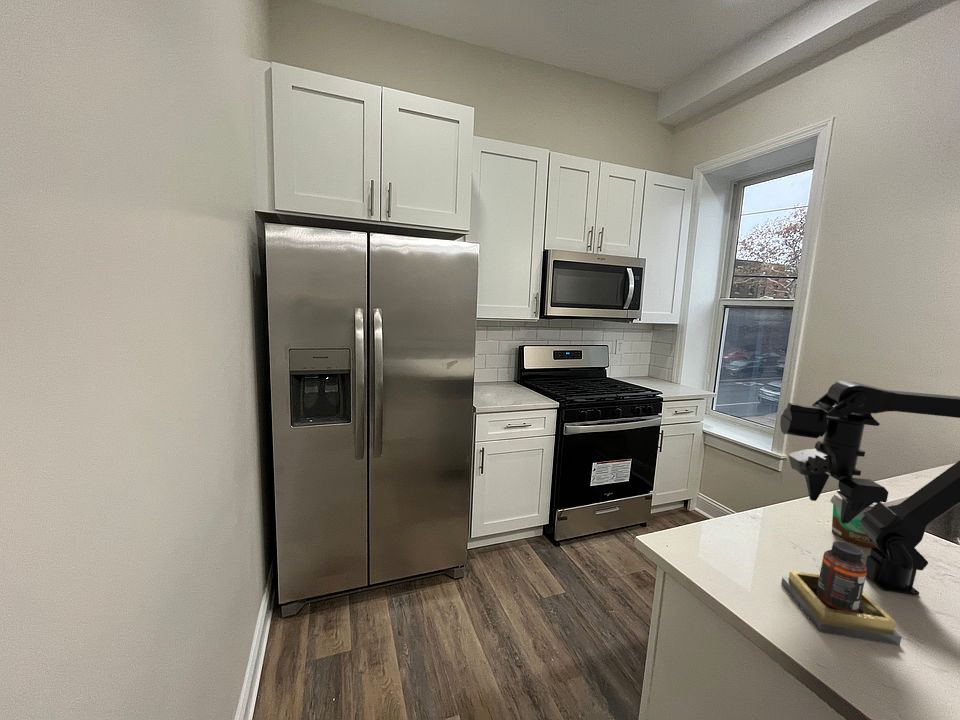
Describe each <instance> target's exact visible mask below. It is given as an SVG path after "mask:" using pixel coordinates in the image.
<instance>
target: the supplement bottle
mask: <svg viewBox="0 0 960 720" xmlns="http://www.w3.org/2000/svg"><path fill="white" fill-rule="evenodd" d="M865 564H866V563H865V562H864V561H863V551H862V550H861V549H860V548H859V547H857V545H854V544H852V543H849V542H847V541H841V540H835V541H833V543H832V545H831V549H828V550H826V551H824V553H823V556H822V561H821V567H820V570H819V571H820V572H819V575H820V576H819V582H818V587H817V595H818V597H819V598H820V599H821V601H823V602H824V603H825V604H827V605H828V606H830V607H831V608H833V609H836V610H840V611H847V612H853V613H856V612H858V610H859V607H860V602H861V597H862V592H864V586H865V581H866V579H867V578H866V577H867V576H866V573H867V567H866V565H865Z"/></svg>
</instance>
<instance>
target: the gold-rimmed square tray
mask: <svg viewBox="0 0 960 720" xmlns="http://www.w3.org/2000/svg"><path fill="white" fill-rule="evenodd" d="M819 576H820V574H815V573H807V572H801V571H795V570H794V571H793V570H789V574H788V577H787V576H785V577H784V576H782V578H781V583H780V584H781V586H784V587H783V588H784V590H785V591H786V592H787V593H788V594H789V596H790V597H791V598H792V599H793V601H795V603H796V604H797V606H799V608H800V610H801V611H802V612H803V613H804V614H805V615H806V617H807V618H808V619H809V620H810V622H811V623H812V624H813V625H814V626H815V628H816V629H817V630H818V631H819V632H820V633H826V634H832V635H837V636H844V637H848V638H856V639H863V640H868V641H874V642H879V643H885V644H893V645H896V646H901V641H902V638H903V637H902V636H901V635H900V633H899V632H898V631H896V630H895V628H896V624H897V622H896V621H895V620H894V619H893V618H892V617H891V616H890V615H889V614H887V612H886V611H884V610H883V609H882V608H881V607H880V606H879V605H878V604H877V603H876V602H875V600H873V599H872V598H871V597H869V595H868V594H866V593H865V592H864V591H863V592H862V597H861V602H860V607H859V610H858V612H856V613H853V612H847V611H840V610H836V609H833V608H831V607H830V606H828V605H827V604H825V603H824V602H823V601H821V599H820V598H819V597H818V595H817V587H818V582H819Z"/></svg>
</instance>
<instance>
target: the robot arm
mask: <svg viewBox="0 0 960 720" xmlns="http://www.w3.org/2000/svg"><path fill="white" fill-rule="evenodd" d="M887 412H897V413H909V414H918V415H919V414H920V415H928V416H929V415H930V416H936V417H937V416H939V417H946V418H955V419H956V418H957V419H960V396H958V395H946V394H936V393H934V394H933V393H925V392H924V393H922V392H912V391H901V390H891V389H890V390H889V389H884V388H881V387H877V386H874V385H873V386H871V385H868V384H864V383H860V382H855V381H851V380H838V381H836V382H835V383H834V384H832V385H831V386H829V388H828V391H827V392H826V393H825V394H823V396H821V397H820V398H819V399H817V400H816V401H815V402H814V403H812V405H804V404H798V403H795V402H794V403H793V402H788V403H787V406H786V408H785V409H784V410H783V413H782V414H781V416H780V421H779V422H780V424H779V425H780V426H779V427H780V431H781V433H782V434H784V435H788V436H794V437H795V436H796V437H802V438H803V437H804V438H810V439H811V438H812V439H819V438H820V437H823V440H821V441H820V440H817V441H816V442H815V445H814V448H811V449H810V448H807V449H798V450H795V451H792V452H789V453H788V458H789V459H788V460H789V463H790V468H791V469H792V470H796V471H797V472H798V473H799V474H800V475H802V476H804V478H805V483H806V487H807V491H808V497H809V500H810V501H811V502H813V501H814V502H816V501H817V500H818V499H819V497H820V496H821V493H822V491H823V490H824V488H825V485H826V484H827V481H828V480H829V478H830V477H832V478H833V479H835V480H836V481H838V484H837V486H838V489H839V490H836V493H837V494H838V496H840V498H841V499H842V507H841V522H842V523H846V524H847V523H849V522H850V521H851V520H852V519H854V518H855V517H856V516H857V515H858V514H859V513H860V512H862V511H863V510H864V509H866V508H867V507H868V506H870V505H871V504H874V505H875V506H874V507H873V508H872V509H871V510H869V511H867V512H863V514H864V515H865V516H864V517H863V518H862V519H861V521H860V523H861V528H862V531H863V532H864V533H865V534H866V535H867V536H868V539H869V541H870V542H871V543H872V544H873V545H874V546H875V548H870V552H869V555H867V557H866V561H865V563H864V564H865V565H866V567H867V573H866V577H868V578H869V579H870V580H871V581H872V582H873V583H874V584H875V585H876V586H877V587H878V588H881V590H883V591H889V592H895V593H902V594H909V595H915V596H916V595H917V596H919V595H920V591H918V589H916V588H914V582H915V579H916V574H917V571H924V569H925V568H926V567H927V566H928V565H929V561H928V560H927V559H926V558H925V557H924V556H923V555H922V554H921V553H920V551H918V550H917V549H916V547H917V546H919V544H920V543H921V542H922V540H923V538H924V535H925V532H926V529H927V527H928V525H930V524H931V523H933V522H934V521H935V520H937V519H939V518H940V517H942V515H944V514H946V513H948V512H949V511H950V510H952V509H954V508H955V506H957V505H959V504H960V460H958V461H957V462H956V463H954V464H953V465H951V466H950V467H948V468H947V469H946V470H945V471H942V473H940V474H939V475H938V476H936V477H935V478H933V479H932V480H931V481H929V482H928V483H926V484H925V485H923V486H922V487H921V488H919V489H918V490H917V491H916V492H914V493H913V494H911V495H910V496H909V497H907V498H906V499H905V500H903V501H901V502H900V503H899V504H895V505H894V504H893V505H894V506H892V505H889V506H886V505H885V504H884V503H887V501H888V498H889V497H888V496H889V491H888V490H887V489H886V487H884V486H882V485H881V484H878V483H877V482H875V481H874V480H872V479H870V478H869V479H868V478H859V477H853V476H861V474H862V470H860V469H858V468H857V464H858V458H859V457H864V458H865V455H866V451H864V450H863V449H862V450H861V443H862V440H863V434H864V430H865V425H866V426H873V427H874V426H875V427H878V426H881V425H880V422H879V421H878V420H877V419H875V417H873V415H872V414H881V413H882V414H883V413H887Z"/></svg>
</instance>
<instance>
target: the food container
mask: <svg viewBox="0 0 960 720" xmlns="http://www.w3.org/2000/svg"><path fill="white" fill-rule="evenodd" d="M829 501H830V503H831V504H833V505H832V517H831V520H832V521H831V532H832V533H833V535H834V536H836V537H838V538H839V539H841V540H842V541H844V542H846V543H849V544H852V545H854V546H859V547H861V548H866V549H871V548H875V546H874V545H873V544H872V543H871V542H870V541H869V539H868V536H867V535H866V534H865V533H864V532H863V531H862V528H861V523H860V521H861V519H862V518H863V517H864V516H865V515H864V514H863V512H867V511H869V510H871V509H872V508H873V507H874V506H875V505H876V504H875V503H873V504H871V505H870V506H868V507H867V508H866V509H864V510H863V511H862V512H860V513H859V514H858V515H857V516H856V517H855V518H854V519H852V520H851V521H850V522H849V523H847V524H846V523H842V522H841V507H842V498H841V497H839V496H837V495H836V494H835V493H834V494H833V496H831V499H830V500H829ZM891 506H894V504H891Z"/></svg>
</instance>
